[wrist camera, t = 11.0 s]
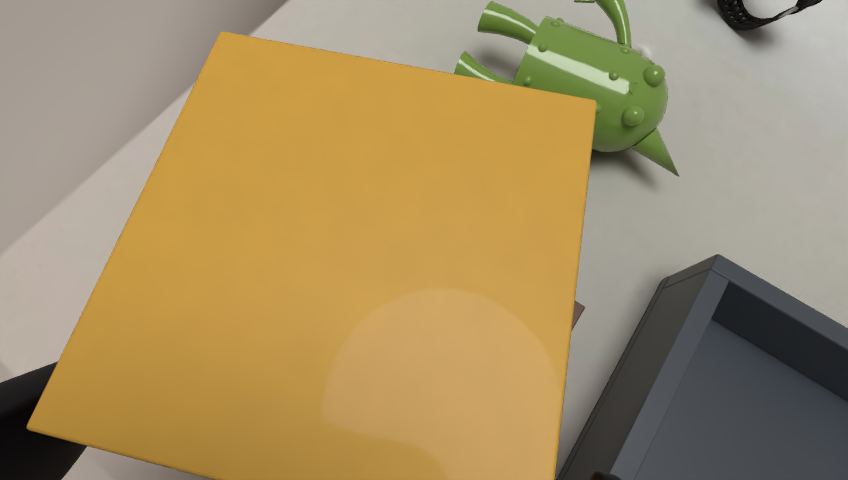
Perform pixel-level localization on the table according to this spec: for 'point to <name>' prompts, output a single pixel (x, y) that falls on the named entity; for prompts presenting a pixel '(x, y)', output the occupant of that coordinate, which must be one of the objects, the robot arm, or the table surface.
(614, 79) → the character figure
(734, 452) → the tray
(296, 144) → the puzzle block
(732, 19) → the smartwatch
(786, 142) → the table surface
